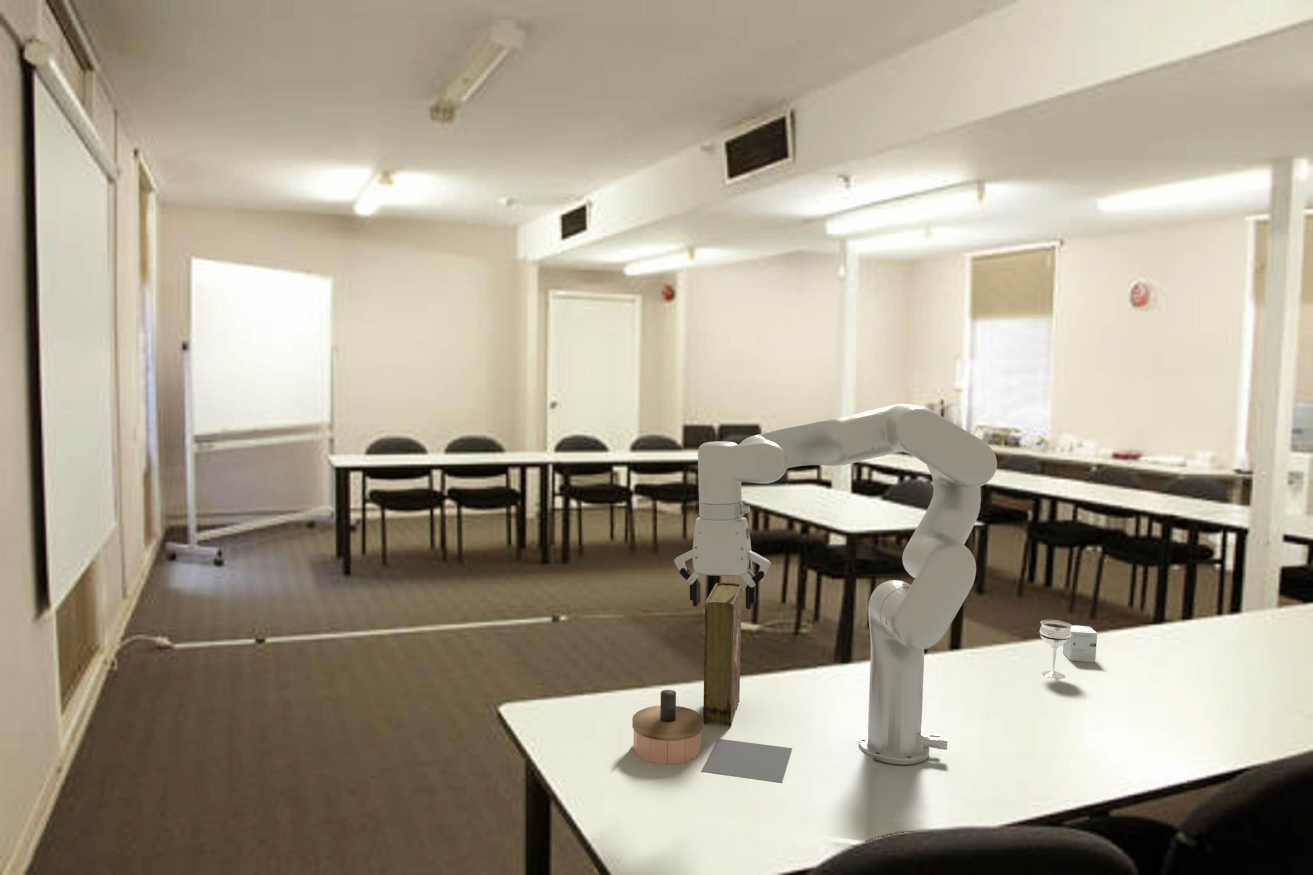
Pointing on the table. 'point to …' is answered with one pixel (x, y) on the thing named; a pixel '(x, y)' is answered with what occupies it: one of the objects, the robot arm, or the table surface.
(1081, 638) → the skincare box
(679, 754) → the bowl
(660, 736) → the lid
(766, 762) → the mat
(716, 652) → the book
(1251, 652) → the table surface
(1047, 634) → the wineglass
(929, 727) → the table surface
